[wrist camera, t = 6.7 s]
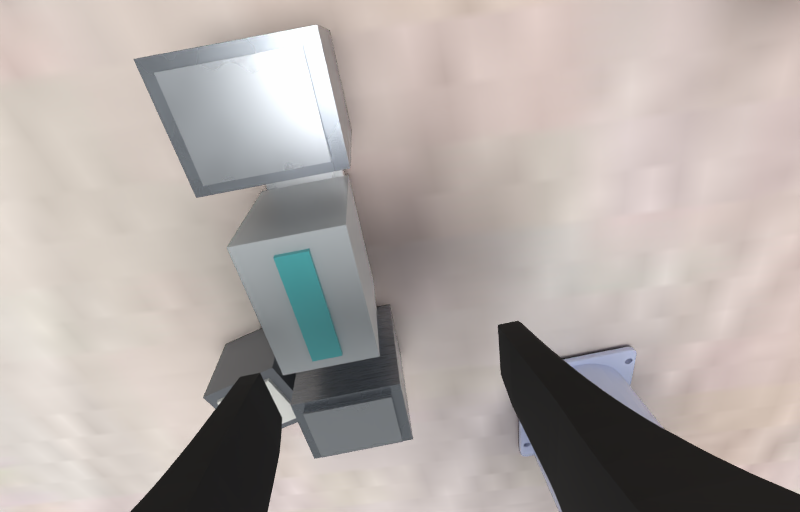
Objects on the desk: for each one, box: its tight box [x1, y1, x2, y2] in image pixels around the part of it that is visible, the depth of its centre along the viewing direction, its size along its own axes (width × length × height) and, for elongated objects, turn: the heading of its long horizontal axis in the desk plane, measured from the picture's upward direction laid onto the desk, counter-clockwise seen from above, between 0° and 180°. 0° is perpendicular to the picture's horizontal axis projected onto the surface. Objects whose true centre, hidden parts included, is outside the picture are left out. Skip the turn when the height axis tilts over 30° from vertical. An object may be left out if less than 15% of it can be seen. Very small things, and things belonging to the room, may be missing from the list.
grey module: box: [227, 175, 380, 375], centre depth 17 cm, size 6×4×6 cm, turn 9°
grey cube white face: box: [203, 328, 298, 428], centre depth 22 cm, size 4×4×4 cm
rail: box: [134, 25, 413, 458], centre depth 17 cm, size 18×5×6 cm, turn 9°
